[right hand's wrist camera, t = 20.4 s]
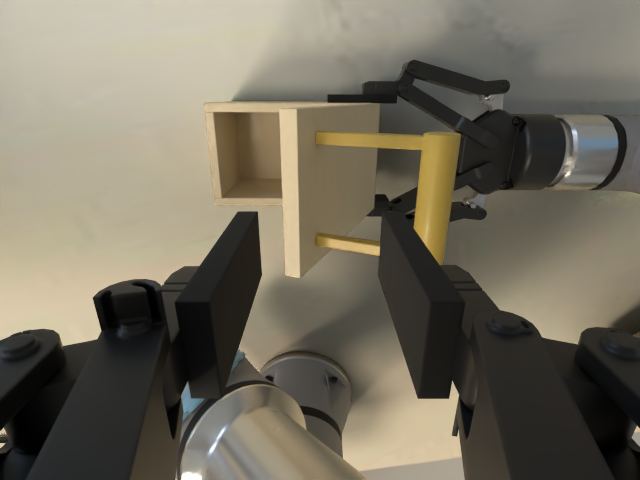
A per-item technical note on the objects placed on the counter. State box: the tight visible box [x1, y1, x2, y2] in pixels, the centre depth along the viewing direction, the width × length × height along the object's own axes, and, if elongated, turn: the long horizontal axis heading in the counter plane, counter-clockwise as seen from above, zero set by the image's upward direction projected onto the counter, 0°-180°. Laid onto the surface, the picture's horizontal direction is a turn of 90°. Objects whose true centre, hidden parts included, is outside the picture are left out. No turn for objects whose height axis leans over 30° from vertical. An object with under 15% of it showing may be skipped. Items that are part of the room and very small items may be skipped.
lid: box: [279, 103, 461, 278], centre depth 26 cm, size 16×10×9 cm
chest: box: [204, 101, 366, 206], centre depth 39 cm, size 15×10×10 cm, turn 90°
